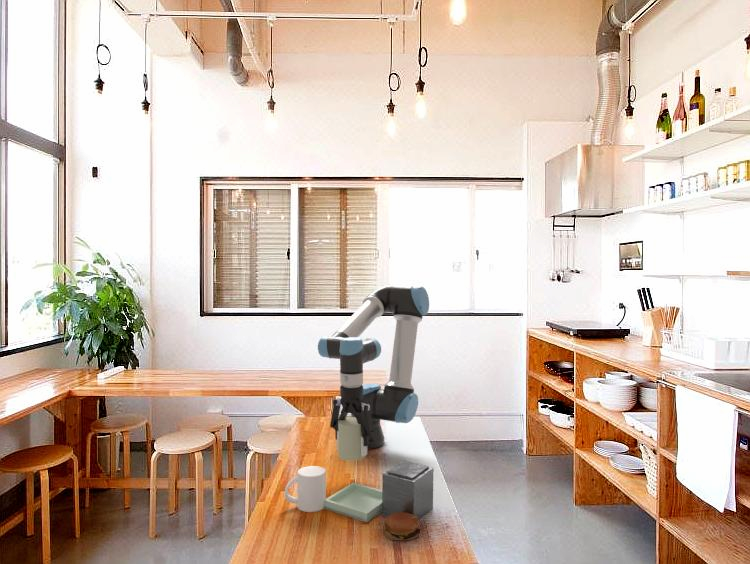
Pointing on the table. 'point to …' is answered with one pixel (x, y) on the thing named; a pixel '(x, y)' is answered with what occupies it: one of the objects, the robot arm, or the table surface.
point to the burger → (401, 526)
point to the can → (349, 439)
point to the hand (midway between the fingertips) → (352, 452)
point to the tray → (356, 502)
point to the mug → (309, 489)
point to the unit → (407, 489)
